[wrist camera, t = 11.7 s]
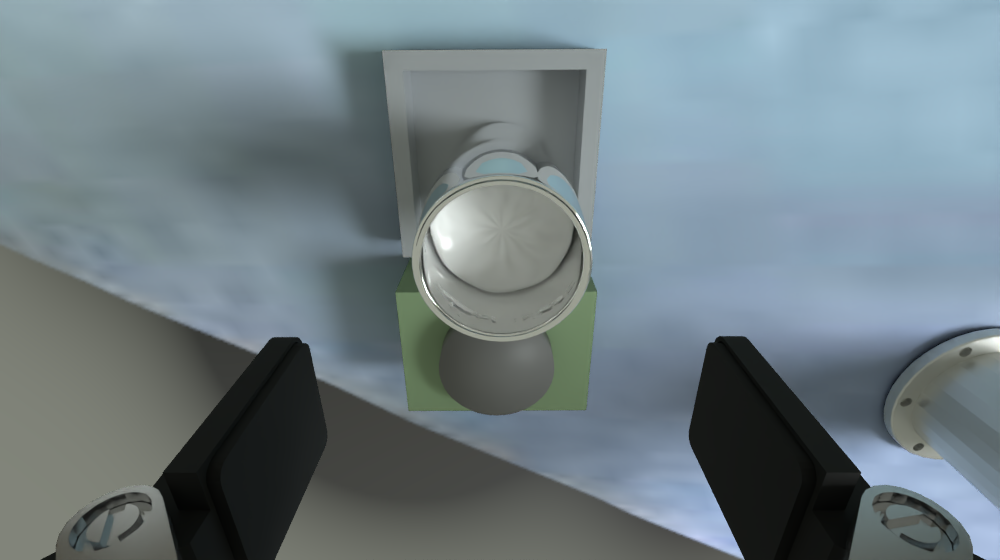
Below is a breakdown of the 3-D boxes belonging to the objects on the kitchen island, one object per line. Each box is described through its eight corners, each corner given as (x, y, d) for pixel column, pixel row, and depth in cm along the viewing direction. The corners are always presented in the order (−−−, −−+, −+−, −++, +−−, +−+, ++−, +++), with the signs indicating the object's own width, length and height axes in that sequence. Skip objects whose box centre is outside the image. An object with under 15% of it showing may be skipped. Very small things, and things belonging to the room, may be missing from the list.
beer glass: (456, 228, 32) (425, 355, 19) (438, 122, 29) (385, 183, 16) (559, 216, 32) (602, 337, 19) (551, 107, 29) (595, 156, 16)
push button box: (596, 49, 28) (627, 49, 21) (573, 358, 38) (590, 426, 31) (393, 50, 28) (359, 50, 21) (421, 359, 38) (404, 427, 31)
